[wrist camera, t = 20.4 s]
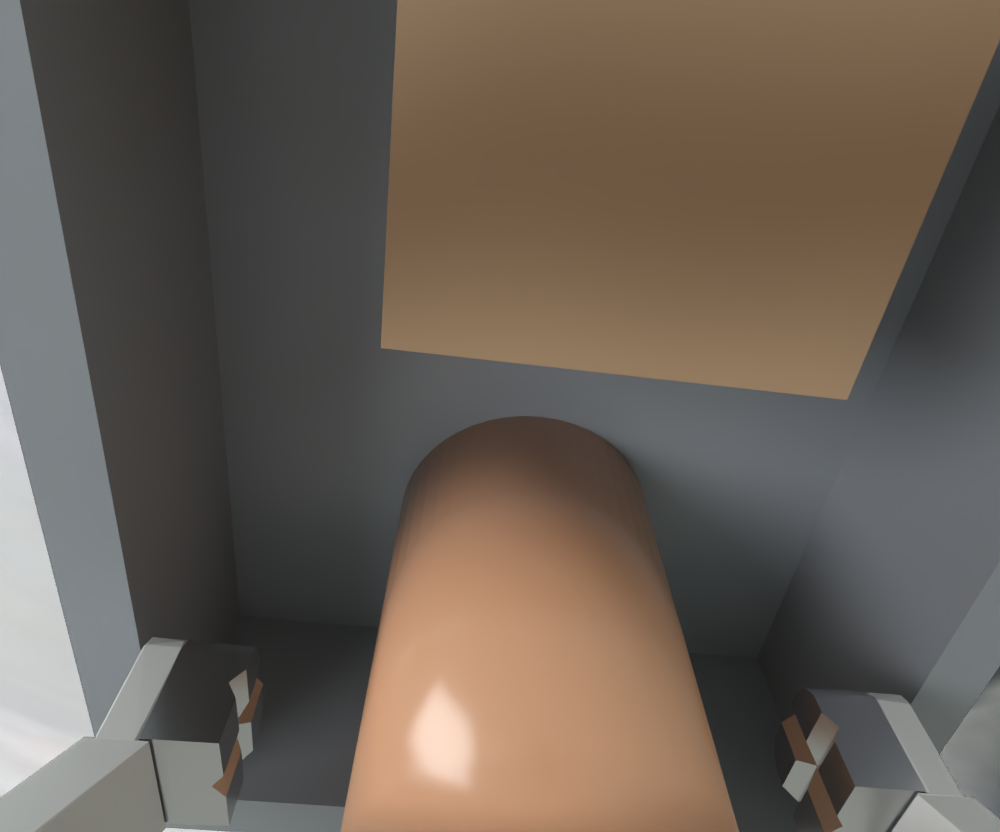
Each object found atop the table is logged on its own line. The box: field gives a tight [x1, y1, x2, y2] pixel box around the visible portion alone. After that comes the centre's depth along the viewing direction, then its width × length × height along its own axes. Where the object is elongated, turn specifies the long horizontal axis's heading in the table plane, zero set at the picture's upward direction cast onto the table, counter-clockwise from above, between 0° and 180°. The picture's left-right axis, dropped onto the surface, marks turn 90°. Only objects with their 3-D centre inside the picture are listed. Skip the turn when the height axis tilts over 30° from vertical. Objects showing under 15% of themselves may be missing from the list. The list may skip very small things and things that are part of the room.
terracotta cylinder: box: [340, 416, 739, 832], centre depth 12 cm, size 5×5×7 cm
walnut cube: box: [381, 0, 1000, 400], centre depth 9 cm, size 5×5×5 cm
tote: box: [0, 0, 1000, 832], centre depth 11 cm, size 18×14×5 cm
